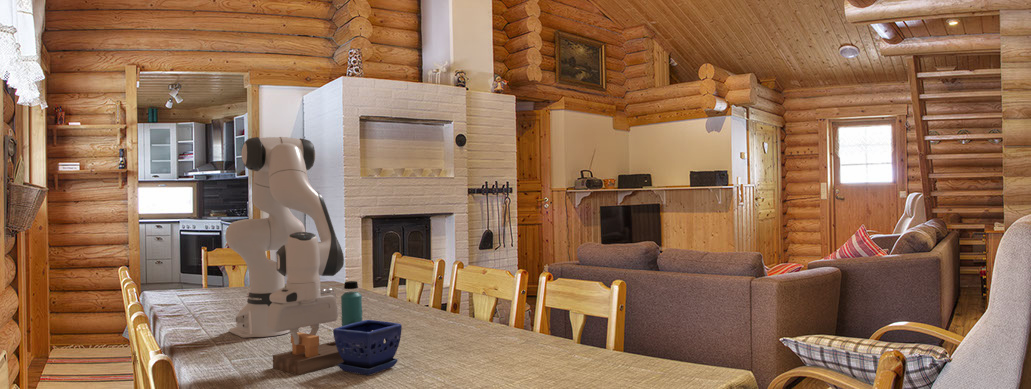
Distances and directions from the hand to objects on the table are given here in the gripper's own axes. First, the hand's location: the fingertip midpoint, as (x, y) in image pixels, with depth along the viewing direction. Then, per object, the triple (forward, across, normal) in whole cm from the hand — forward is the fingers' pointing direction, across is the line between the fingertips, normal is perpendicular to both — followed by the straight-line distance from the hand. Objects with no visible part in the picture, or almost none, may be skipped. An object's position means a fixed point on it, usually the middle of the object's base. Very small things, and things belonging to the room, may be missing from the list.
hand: (304, 342), depth 186 cm
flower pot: (+7, -8, +17) cm, 20 cm away
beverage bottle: (+7, -23, -9) cm, 26 cm away
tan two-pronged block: (+5, 0, 0) cm, 5 cm away
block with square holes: (+6, -6, 0) cm, 9 cm away
